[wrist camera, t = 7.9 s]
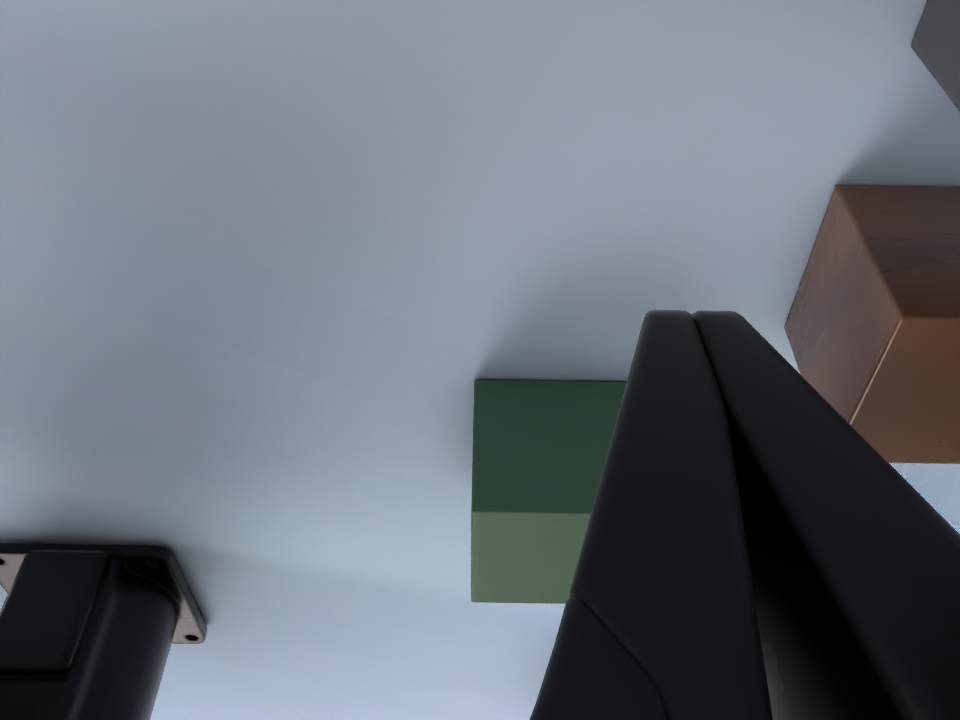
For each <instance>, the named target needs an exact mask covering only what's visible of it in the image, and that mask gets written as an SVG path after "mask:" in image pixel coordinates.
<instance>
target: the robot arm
mask: <svg viewBox="0 0 960 720" xmlns="http://www.w3.org/2000/svg"><path fill="white" fill-rule="evenodd" d="M0 584H1V585H2V587H3V588H4V589H5V591H6V592H7V593H8V595H7V597H6V600H5V602H4V604H3V606H2V609H1V611H0V720H150V718H151V714H152V710H153V707H154V703H155V700H156V696H157V693H158V689H159V686H160V682H161V679H162V675H163V671H164V668H165V664H166V661H167V657H168V654H169V650H170V647H171V643H180V644H198V643H202V642H204V641H205V638H206V634H207V627H206V625H205V623H204V621H203V619H202V616H201V614H200V612H199V610H198V608H197V605H196V603H195V601H194V599H193V597H192V595H191V592H190V590H189V588H188V586H187V584H186V582H185V579H184V577H183V575H182V573H181V571H180V569H179V566H178V564H177V562H176V560H175V558H174V556H173V554H172V552H171V551H170V550H168V549H166V548H164V547H161V546H142V545H77V544H13V543H0ZM529 720H960V534H959V533H958V532H957V531H956V530H955V529H954V528H953V527H952V526H951V525H950V524H949V523H948V522H947V521H946V520H945V519H944V518H943V517H942V516H941V515H940V514H939V513H938V512H937V511H936V510H935V509H934V508H933V507H932V506H931V505H930V504H929V503H928V502H927V501H926V500H925V499H924V498H923V497H922V496H921V495H920V494H919V493H918V492H917V491H916V490H915V489H914V488H913V487H912V486H911V485H910V484H909V483H908V482H907V481H906V480H905V479H904V478H903V477H902V476H901V475H900V474H899V473H898V472H897V471H896V470H895V469H894V468H893V467H892V466H891V465H890V464H889V463H888V462H887V461H886V460H885V459H884V458H883V457H882V456H881V455H880V454H879V453H878V452H877V451H876V450H875V449H874V448H873V447H872V446H871V445H870V444H869V443H868V442H867V441H866V440H865V439H864V438H863V437H862V436H861V435H860V434H859V433H858V432H857V431H856V430H855V429H854V428H853V427H852V426H851V425H850V424H849V423H848V422H847V421H846V420H845V419H844V418H843V417H842V416H841V415H840V414H839V413H838V412H837V411H836V410H835V409H834V408H833V407H832V406H831V405H830V404H829V403H828V402H827V401H826V400H825V399H824V398H823V397H822V396H821V395H820V394H819V393H818V392H817V391H816V390H815V389H814V388H813V387H812V386H811V385H810V384H809V383H808V382H807V381H806V380H805V379H804V378H803V377H802V376H801V375H800V374H799V373H798V372H797V371H796V370H795V369H794V368H793V367H792V366H791V365H790V364H789V363H788V362H787V361H786V360H785V359H784V358H783V357H782V356H781V355H780V354H779V353H778V352H777V351H776V350H775V349H774V348H773V347H772V346H771V345H770V344H769V343H768V342H767V341H766V340H765V339H764V338H763V337H762V336H761V335H760V334H759V333H758V332H757V331H756V330H755V329H754V328H753V327H752V326H751V325H750V324H749V323H748V322H747V320H746V319H745V318H744V317H742V316H741V315H740V314H738V313H736V312H732V311H697V312H695V313H693V314H692V315H691V314H690V313H688V312H687V311H683V310H650V311H648V312H647V313H646V315H645V317H644V320H643V324H642V328H641V331H640V335H639V339H638V342H637V346H636V350H635V353H634V357H633V361H632V364H631V368H630V372H629V375H628V379H627V383H626V386H625V390H624V394H623V397H622V401H621V405H620V409H619V412H618V416H617V420H616V423H615V427H614V431H613V434H612V438H611V442H610V445H609V449H608V453H607V456H606V460H605V464H604V467H603V471H602V475H601V478H600V482H599V486H598V489H597V493H596V497H595V500H594V504H593V508H592V511H591V515H590V519H589V522H588V526H587V530H586V533H585V537H584V541H583V544H582V548H581V552H580V555H579V559H578V563H577V566H576V570H575V574H574V577H573V581H572V585H571V588H570V593H569V599H568V600H567V602H566V605H565V608H564V612H563V616H562V619H561V623H560V627H559V630H558V634H557V638H556V641H555V645H554V648H553V651H552V654H551V657H550V660H549V664H548V667H547V670H546V673H545V676H544V679H543V683H542V686H541V689H540V692H539V695H538V698H537V702H536V704H535V707H534V709H533V712H532V714H531V717H530V719H529Z"/></svg>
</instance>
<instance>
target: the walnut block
mask: <svg viewBox="0 0 960 720" xmlns="http://www.w3.org/2000/svg"><path fill="white" fill-rule="evenodd" d="M785 331H786V334H787V337H788V339H789V342H790V345H791V348H792V351H793V354H794V357H795V360H796V362H797V365H798V368H799V371H800V374H801V376H802V377H803V378H804V379H805V380H806V381H807V382H808V383H809V384H810V385H811V386H812V387H813V388H814V389H815V390H816V391H817V392H818V393H819V394H820V395H821V396H822V397H823V398H824V399H825V400H826V401H827V402H828V403H829V404H830V405H831V406H832V407H833V408H834V409H835V410H836V411H837V412H838V413H839V414H840V415H841V416H842V417H843V418H844V419H845V420H846V421H847V422H848V423H849V424H850V425H851V426H852V427H853V428H854V429H855V430H856V431H857V432H858V433H859V434H860V435H861V436H862V437H863V438H864V439H865V440H866V441H867V442H868V443H869V444H870V445H871V446H872V447H873V448H874V449H875V450H876V451H877V452H878V453H879V454H880V455H881V456H882V457H883V458H884V459H885V460H886V461H887V462H888V463H940V464H960V187H921V186H852V185H838V186H836V187H835V190H834V192H833V195H832V198H831V201H830V203H829V206H828V209H827V212H826V214H825V217H824V220H823V223H822V226H821V228H820V231H819V234H818V237H817V239H816V242H815V245H814V248H813V250H812V253H811V256H810V259H809V261H808V264H807V267H806V270H805V273H804V275H803V278H802V281H801V284H800V286H799V289H798V292H797V295H796V297H795V300H794V303H793V306H792V309H791V311H790V314H789V317H788V320H787V322H786V325H785Z"/></svg>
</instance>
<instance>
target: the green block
mask: <svg viewBox="0 0 960 720" xmlns="http://www.w3.org/2000/svg"><path fill="white" fill-rule="evenodd" d="M626 383H627V382H595V381H528V380H475V382H474V424H473V467H472V510H471V601H472V602H496V603H559V604H566V602H567V600H568V599H569V593H570V588H571V585H572V581H573V577H574V574H575V570H576V566H577V563H578V559H579V555H580V552H581V548H582V544H583V541H584V537H585V533H586V530H587V526H588V522H589V519H590V515H591V511H592V508H593V504H594V500H595V497H596V493H597V489H598V486H599V482H600V478H601V475H602V471H603V467H604V464H605V460H606V456H607V453H608V449H609V445H610V442H611V438H612V434H613V431H614V427H615V423H616V420H617V416H618V412H619V409H620V405H621V401H622V397H623V394H624V390H625V386H626Z"/></svg>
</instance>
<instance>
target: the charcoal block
mask: <svg viewBox="0 0 960 720" xmlns="http://www.w3.org/2000/svg"><path fill="white" fill-rule="evenodd" d="M911 48H912V49H913V50H914V52H915V53H916V54H917V56H918V57H919V58H920V60H921V61H922V62H923V64H924V65H925V66H926V67H927V69H928V70H929V71H930V73H931V74H932V75H933V77H934V78H935V79H936V81H937V82H938V83H939V85H940V86H941V87H942V89H943V90H944V91H945V93H946V94H947V95H948V97H949V98H950V99H951V101H952V102H953V103H954V105H955V106H956V107H957V108H958V110H959V111H960V0H928V1H927V4H926V6H925V9H924V12H923V14H922V17H921V19H920V22H919V25H918V27H917V30H916V33H915V35H914V38H913V41H912V43H911Z"/></svg>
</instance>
